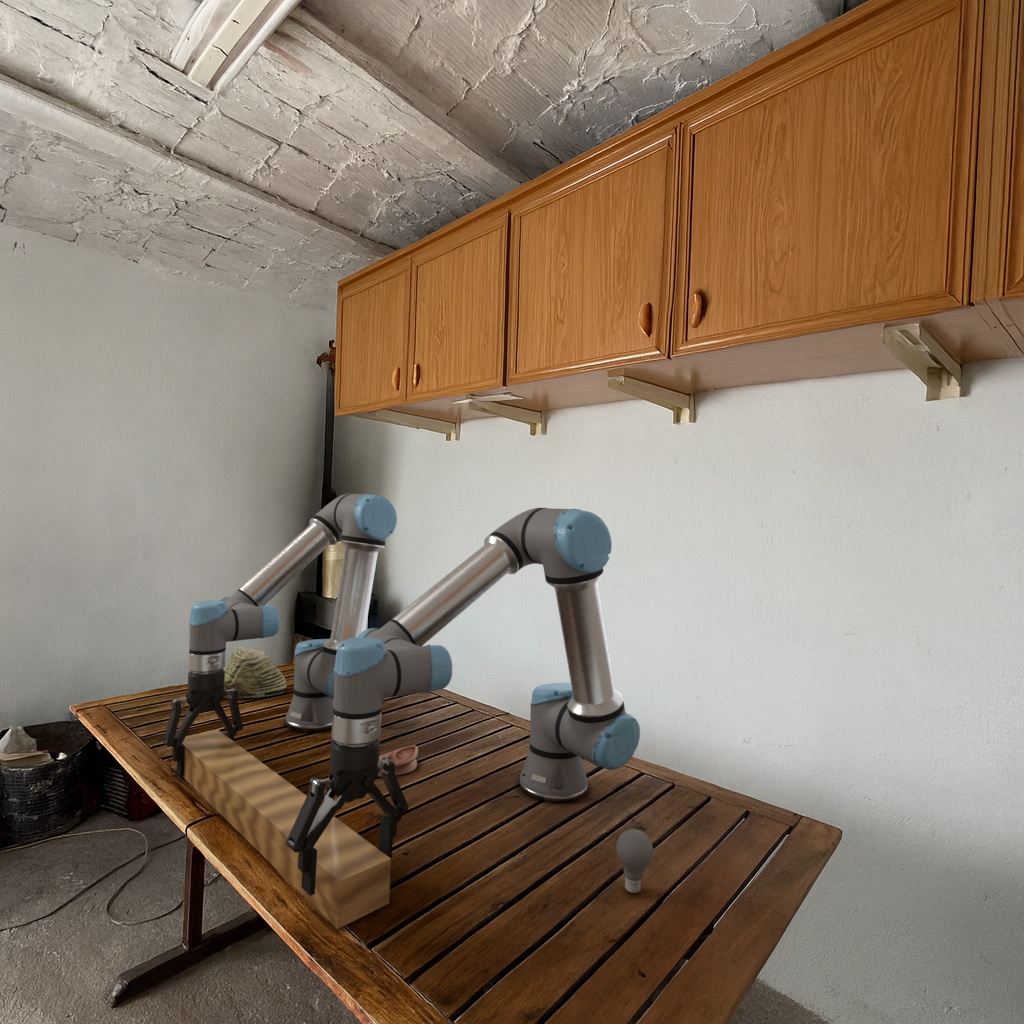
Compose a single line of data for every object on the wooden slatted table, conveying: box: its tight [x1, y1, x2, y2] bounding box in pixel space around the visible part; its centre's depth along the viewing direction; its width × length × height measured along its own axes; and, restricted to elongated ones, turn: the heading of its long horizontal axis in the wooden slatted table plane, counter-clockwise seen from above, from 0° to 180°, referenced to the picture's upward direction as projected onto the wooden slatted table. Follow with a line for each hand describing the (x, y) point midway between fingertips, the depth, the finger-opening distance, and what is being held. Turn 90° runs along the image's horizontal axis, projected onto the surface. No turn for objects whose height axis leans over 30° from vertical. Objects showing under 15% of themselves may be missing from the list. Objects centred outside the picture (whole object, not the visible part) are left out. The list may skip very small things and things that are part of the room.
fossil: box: [224, 646, 288, 699], centre depth 198 cm, size 9×18×15 cm, turn 132°
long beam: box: [175, 729, 392, 930], centre depth 122 cm, size 71×9×7 cm, turn 45°
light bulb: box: [615, 828, 654, 894], centre depth 106 cm, size 6×6×10 cm
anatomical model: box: [377, 744, 419, 777], centre depth 149 cm, size 13×4×12 cm
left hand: (203, 768), depth 144 cm, fingers closed on long beam, 9 cm apart
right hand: (348, 874), depth 99 cm, fingers open, 13 cm apart
